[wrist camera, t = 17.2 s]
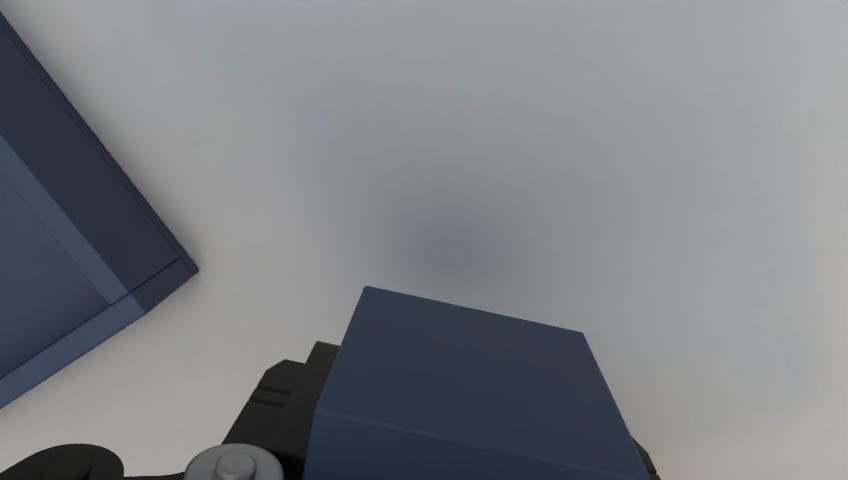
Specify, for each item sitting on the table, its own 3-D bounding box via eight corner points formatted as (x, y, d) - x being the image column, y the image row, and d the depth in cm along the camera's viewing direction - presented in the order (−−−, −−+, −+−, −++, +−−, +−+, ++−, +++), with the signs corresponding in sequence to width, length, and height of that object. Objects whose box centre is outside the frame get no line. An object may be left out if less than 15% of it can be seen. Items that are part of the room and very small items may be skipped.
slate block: (328, 469, 13) (267, 663, 9) (364, 283, 12) (314, 407, 8) (526, 511, 13) (559, 723, 9) (584, 331, 12) (654, 481, 8)
